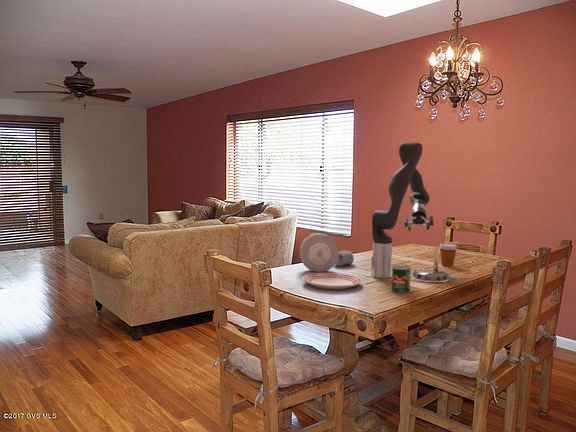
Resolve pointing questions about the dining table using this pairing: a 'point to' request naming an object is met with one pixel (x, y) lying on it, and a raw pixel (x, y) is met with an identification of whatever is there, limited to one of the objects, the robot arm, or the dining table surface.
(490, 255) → the dining table surface
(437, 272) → the sprocket
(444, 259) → the disposable coffee cup
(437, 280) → the sprocket base plate
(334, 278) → the dinner plate
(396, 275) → the canned tomato
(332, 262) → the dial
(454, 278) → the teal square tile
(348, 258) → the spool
